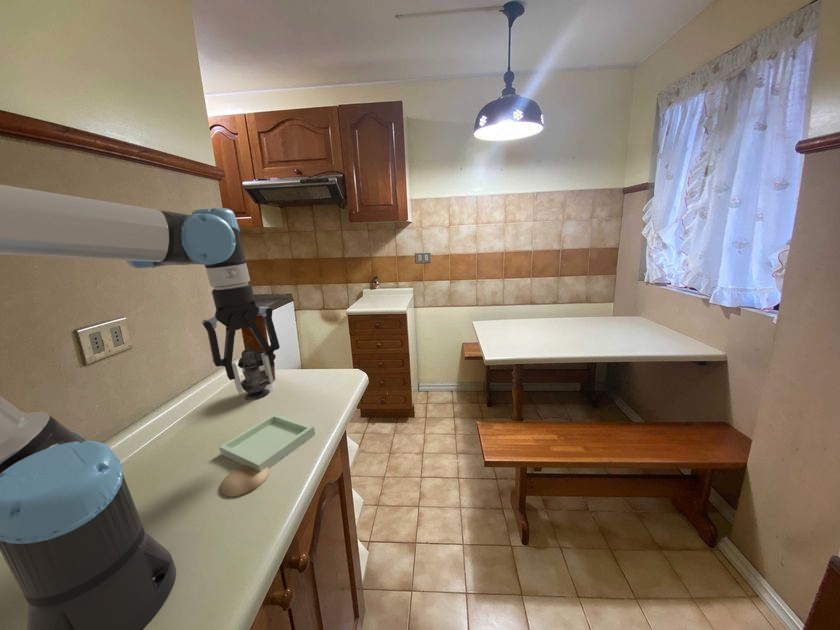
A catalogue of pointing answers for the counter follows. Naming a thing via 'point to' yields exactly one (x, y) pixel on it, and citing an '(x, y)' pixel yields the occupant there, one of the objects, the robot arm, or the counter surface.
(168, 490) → the counter surface
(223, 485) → the cork coaster
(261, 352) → the coffee cup
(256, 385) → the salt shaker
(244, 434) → the tray
